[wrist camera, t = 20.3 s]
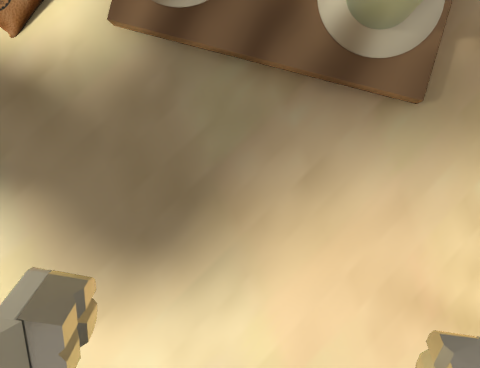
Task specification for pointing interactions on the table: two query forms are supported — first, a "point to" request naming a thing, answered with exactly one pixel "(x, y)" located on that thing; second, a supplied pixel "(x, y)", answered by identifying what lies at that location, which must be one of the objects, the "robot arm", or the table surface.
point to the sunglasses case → (16, 14)
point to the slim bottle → (381, 12)
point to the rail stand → (302, 38)
